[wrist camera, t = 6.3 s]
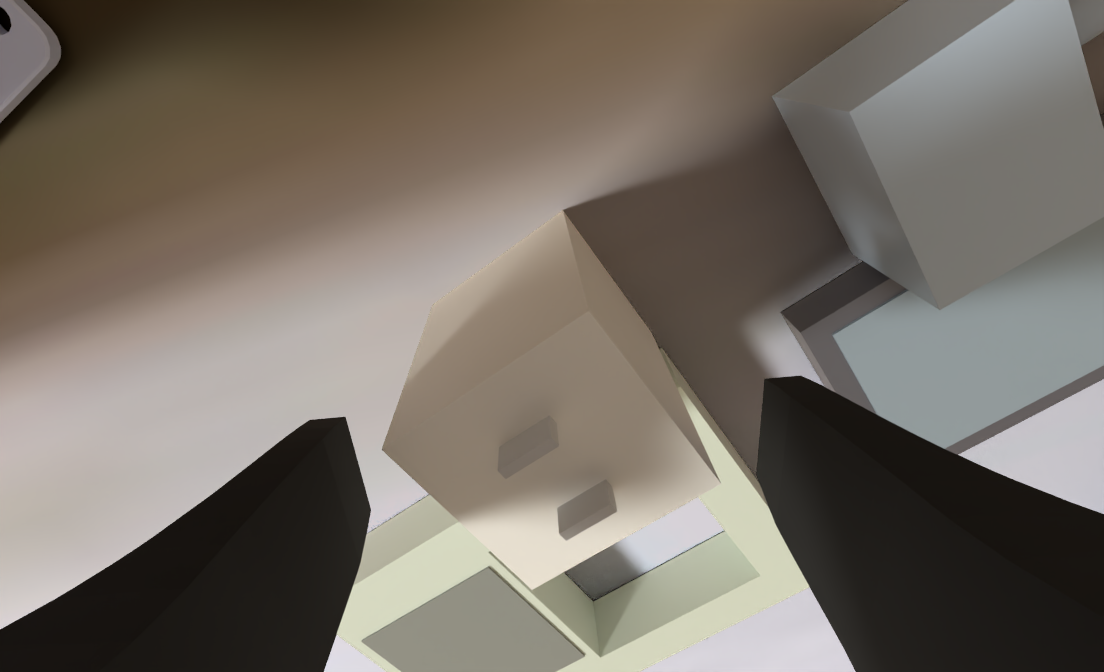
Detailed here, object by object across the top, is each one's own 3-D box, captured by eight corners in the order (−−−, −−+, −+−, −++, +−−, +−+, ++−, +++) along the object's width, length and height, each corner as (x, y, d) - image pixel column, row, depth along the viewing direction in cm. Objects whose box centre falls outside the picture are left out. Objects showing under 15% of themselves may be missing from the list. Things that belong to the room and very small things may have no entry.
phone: (780, 312, 15) (801, 333, 14) (1138, 92, 13) (1196, 95, 12) (869, 461, 18) (893, 490, 16) (1187, 291, 16) (1240, 310, 14)
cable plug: (772, 96, 13) (848, 112, 10) (1164, -180, 11) (1413, -268, 8) (851, 254, 15) (940, 309, 12) (1204, 37, 13) (1424, 34, 10)
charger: (432, 304, 15) (373, 474, 9) (562, 210, 14) (593, 327, 8) (528, 411, 16) (532, 617, 10) (651, 332, 15) (732, 508, 10)
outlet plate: (329, 558, 18) (307, 615, 16) (661, 347, 16) (680, 387, 14) (491, 687, 21) (488, 748, 19) (792, 529, 19) (823, 582, 17)
